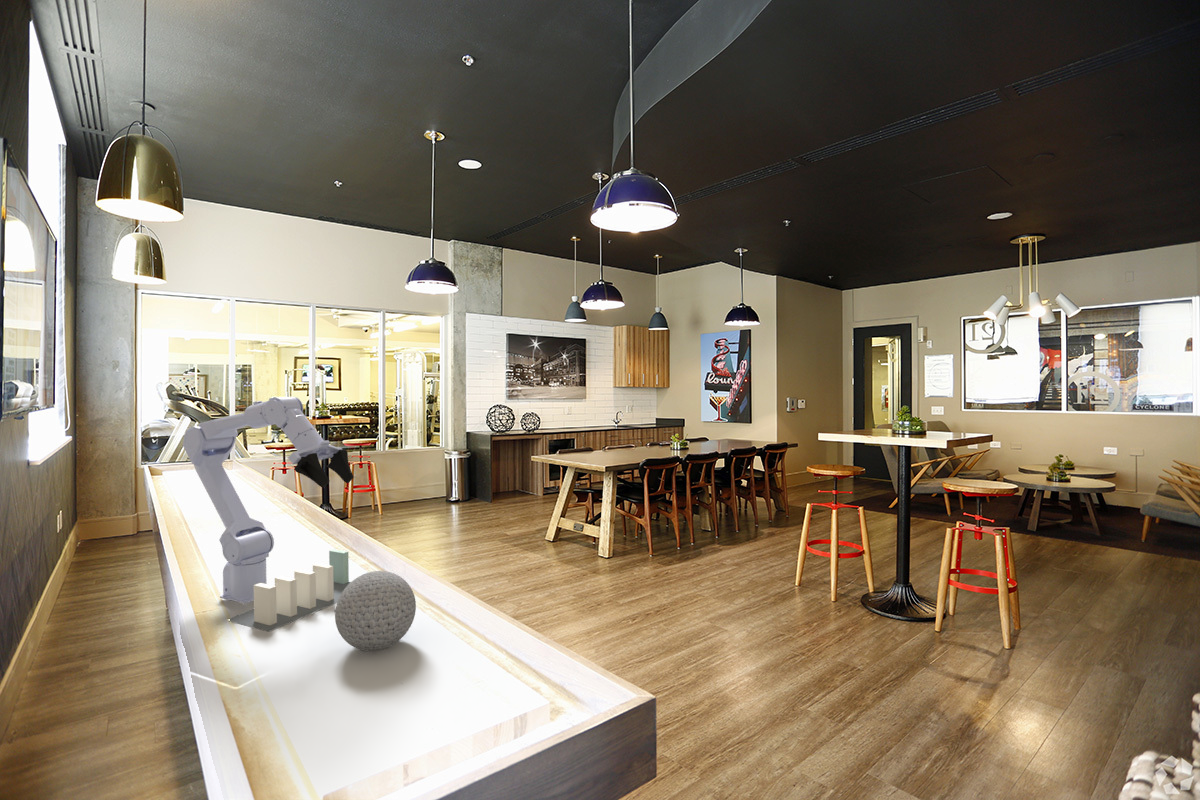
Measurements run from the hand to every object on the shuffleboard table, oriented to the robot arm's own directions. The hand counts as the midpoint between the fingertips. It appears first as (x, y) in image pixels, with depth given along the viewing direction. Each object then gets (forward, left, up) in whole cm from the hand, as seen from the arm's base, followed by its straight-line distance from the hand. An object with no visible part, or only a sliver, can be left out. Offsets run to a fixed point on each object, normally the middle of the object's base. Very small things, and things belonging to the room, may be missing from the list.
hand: (338, 482), depth 133 cm
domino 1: (-10, -11, -29) cm, 33 cm away
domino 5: (-16, +14, -29) cm, 36 cm away
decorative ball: (+20, -9, -30) cm, 37 cm away
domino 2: (-10, -6, -29) cm, 32 cm away
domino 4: (-10, +4, -29) cm, 31 cm away
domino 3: (-10, -1, -29) cm, 31 cm away
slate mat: (-12, 0, -30) cm, 32 cm away
